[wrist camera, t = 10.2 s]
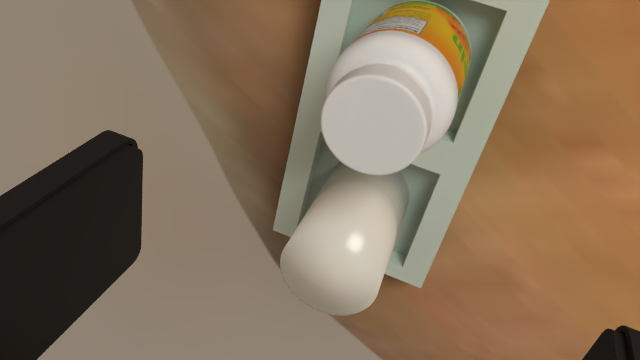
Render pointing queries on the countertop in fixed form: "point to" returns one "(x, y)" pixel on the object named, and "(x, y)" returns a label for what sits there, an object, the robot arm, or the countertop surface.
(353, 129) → the supplement bottle
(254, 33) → the countertop surface
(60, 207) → the robot arm
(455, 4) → the caddy
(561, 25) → the countertop surface
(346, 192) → the white rounded cylinder
